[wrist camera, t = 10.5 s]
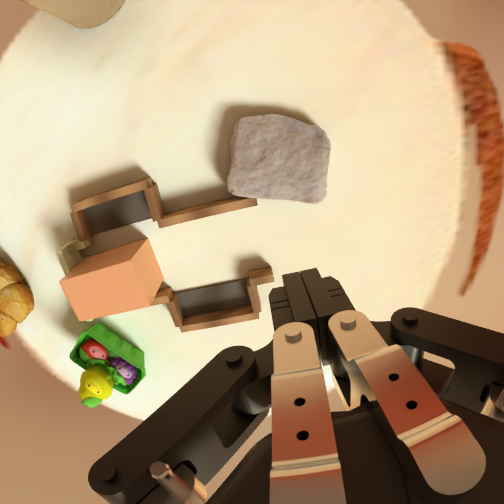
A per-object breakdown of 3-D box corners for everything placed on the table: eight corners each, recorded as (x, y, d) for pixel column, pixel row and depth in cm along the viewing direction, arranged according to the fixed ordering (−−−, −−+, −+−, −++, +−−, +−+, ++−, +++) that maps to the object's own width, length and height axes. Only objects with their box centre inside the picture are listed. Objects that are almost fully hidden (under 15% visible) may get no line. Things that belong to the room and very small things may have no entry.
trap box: (245, 152, 36) (246, 154, 34) (279, 304, 44) (281, 313, 42) (63, 206, 38) (54, 211, 35) (115, 333, 45) (109, 342, 43)
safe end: (74, 239, 39) (61, 250, 36) (102, 306, 44) (92, 320, 40) (69, 241, 40) (55, 251, 36) (97, 307, 44) (87, 321, 40)
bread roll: (-17, 261, 40) (-44, 281, 33) (8, 238, 39) (-22, 257, 32) (20, 320, 45) (-2, 345, 37) (48, 304, 43) (24, 331, 36)
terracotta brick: (148, 237, 40) (130, 260, 33) (164, 277, 42) (150, 306, 35) (83, 258, 41) (58, 281, 34) (99, 294, 43) (79, 321, 36)
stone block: (231, 117, 36) (225, 197, 38) (232, 107, 32) (225, 197, 33) (324, 127, 38) (319, 204, 39) (336, 119, 33) (332, 205, 35)
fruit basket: (155, 352, 47) (138, 403, 36) (131, 379, 49) (114, 427, 39) (95, 311, 44) (65, 356, 33) (77, 343, 46) (50, 386, 36)
